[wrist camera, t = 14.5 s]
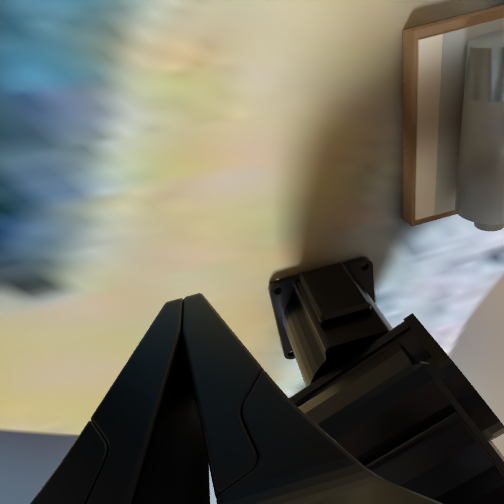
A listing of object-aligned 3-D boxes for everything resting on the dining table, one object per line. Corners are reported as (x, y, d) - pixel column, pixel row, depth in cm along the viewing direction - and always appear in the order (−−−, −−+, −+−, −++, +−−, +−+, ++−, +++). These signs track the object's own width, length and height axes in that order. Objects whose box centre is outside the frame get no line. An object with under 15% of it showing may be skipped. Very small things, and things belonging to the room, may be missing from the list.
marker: (499, 203, 23) (543, 231, 20) (441, 217, 23) (477, 247, 20) (525, 23, 18) (589, 26, 15) (451, 42, 18) (501, 48, 15)
